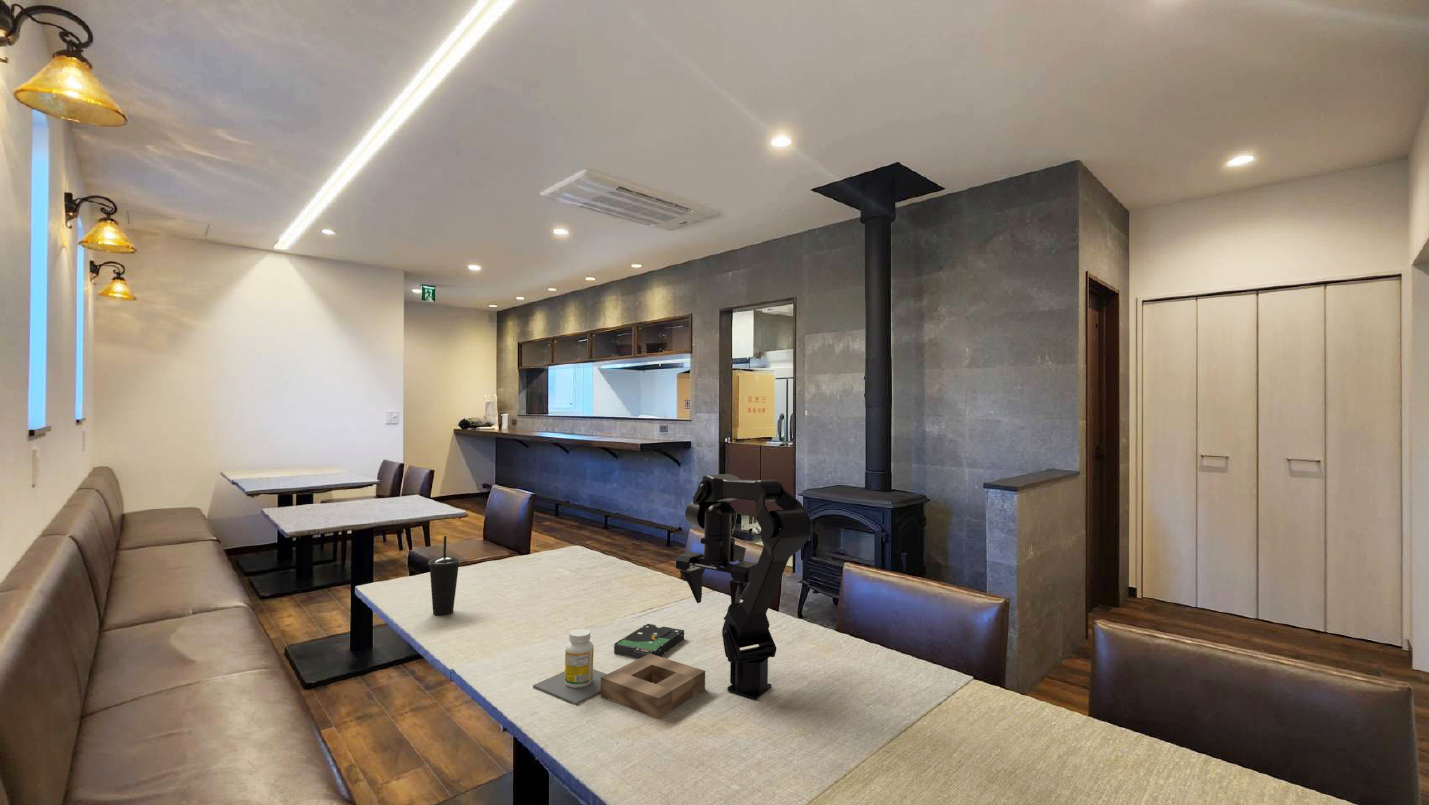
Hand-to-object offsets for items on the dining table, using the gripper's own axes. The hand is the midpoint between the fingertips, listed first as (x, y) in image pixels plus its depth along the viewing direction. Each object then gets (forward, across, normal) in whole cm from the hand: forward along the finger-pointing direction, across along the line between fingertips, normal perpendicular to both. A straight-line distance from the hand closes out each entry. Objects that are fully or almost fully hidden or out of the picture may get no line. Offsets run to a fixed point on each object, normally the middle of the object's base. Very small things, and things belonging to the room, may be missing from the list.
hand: (716, 606), depth 126 cm
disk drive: (+13, +18, +1) cm, 22 cm away
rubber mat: (+12, +16, +24) cm, 31 cm away
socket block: (+12, +2, +18) cm, 22 cm away
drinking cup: (+12, +76, +16) cm, 79 cm away
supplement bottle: (+12, +16, +24) cm, 31 cm away
